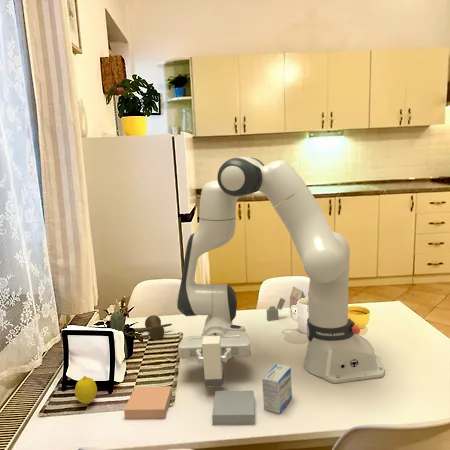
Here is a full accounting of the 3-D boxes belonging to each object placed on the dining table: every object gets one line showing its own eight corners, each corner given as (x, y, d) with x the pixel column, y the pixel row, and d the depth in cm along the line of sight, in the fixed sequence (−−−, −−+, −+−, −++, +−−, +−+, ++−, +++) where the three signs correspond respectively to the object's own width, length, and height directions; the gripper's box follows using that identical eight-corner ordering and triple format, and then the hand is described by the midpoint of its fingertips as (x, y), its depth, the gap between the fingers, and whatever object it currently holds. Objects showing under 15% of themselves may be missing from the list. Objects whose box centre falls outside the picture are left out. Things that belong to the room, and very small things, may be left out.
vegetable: (124, 363, 130) (118, 303, 126) (111, 363, 130) (105, 302, 127) (130, 357, 134) (124, 298, 130) (118, 356, 135) (111, 297, 131)
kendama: (116, 337, 150) (170, 326, 156) (118, 349, 141) (175, 337, 147) (113, 322, 149) (168, 311, 155) (115, 333, 140) (174, 321, 146)
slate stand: (254, 399, 108) (253, 390, 107) (254, 424, 98) (254, 414, 98) (215, 399, 108) (215, 390, 108) (212, 424, 99) (212, 415, 98)
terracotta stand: (172, 394, 112) (171, 386, 111) (164, 418, 102) (164, 409, 101) (135, 395, 112) (135, 386, 112) (124, 418, 103) (124, 409, 102)
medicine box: (279, 414, 101) (278, 382, 99) (263, 409, 103) (261, 377, 102) (292, 397, 108) (291, 367, 106) (276, 393, 110) (275, 363, 108)
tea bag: (298, 309, 165) (297, 285, 164) (307, 315, 159) (307, 290, 157) (290, 311, 164) (289, 287, 162) (299, 317, 158) (298, 292, 156)
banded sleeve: (223, 376, 114) (220, 335, 112) (222, 386, 109) (219, 343, 107) (206, 377, 114) (203, 336, 112) (205, 386, 110) (201, 344, 108)
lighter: (268, 321, 156) (267, 301, 154) (266, 319, 157) (266, 299, 156) (286, 318, 157) (285, 298, 156) (284, 316, 159) (283, 297, 158)
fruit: (74, 402, 111) (71, 374, 109) (96, 395, 113) (92, 368, 112) (78, 412, 106) (75, 384, 105) (100, 405, 109) (97, 377, 107)
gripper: (181, 328, 123) (172, 351, 110) (249, 325, 122) (249, 348, 109) (182, 348, 125) (174, 372, 111) (251, 345, 123) (251, 370, 110)
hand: (212, 360), depth 110 cm, fingers closed on banded sleeve, 4 cm apart
